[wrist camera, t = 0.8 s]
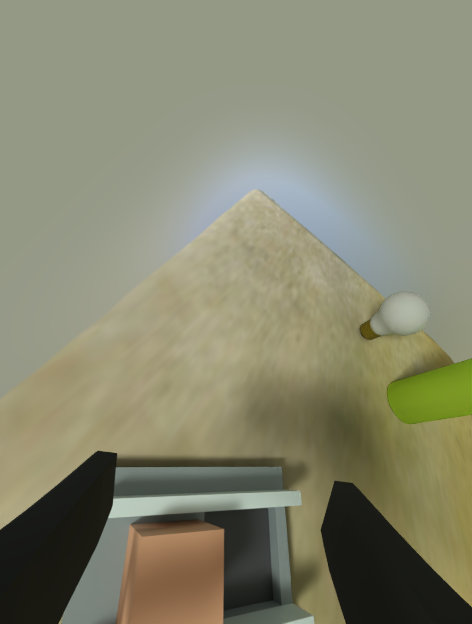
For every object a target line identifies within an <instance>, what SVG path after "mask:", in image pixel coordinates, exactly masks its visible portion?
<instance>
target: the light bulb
mask: <svg viewBox="0 0 472 624" xmlns="http://www.w3.org/2000/svg"><path fill="white" fill-rule="evenodd" d="M429 318H430V308H429V306H428V304H427V302H426V301H425V300H424V299H423V298H422V297H421V296H419V295H417V294H415V293H411V292H398V293H394V294H392V295H390V296H389V297H387V298H386V299H385V300H384V301H383V302H382V304H381V306H380V308H379V310H378V312H377V313H376V314H375V315H374V316H373V317H372V319H370V320H369V321H367V322H365V323H364V324H362V325H361V327H360V329H361V334H362V336H363V337H365V338H367V339H369V340H372V339H374V338H376V337H379V336H382V335H383V336H384V335H390V334H396V335H412V334H415V333H417V332H419V331H421V330H422V329H423V328H424V327H425V326H426V325H427V323H428V321H429Z"/></svg>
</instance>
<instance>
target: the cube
mask: <svg viewBox="0 0 472 624" xmlns="http://www.w3.org/2000/svg"><path fill="white" fill-rule="evenodd" d="M223 597H224V529H222V528H220V527H217V526H215V525H212V524H209V523H207V522H204V521H201V520H199V519H195V520H182V521H170V522H157V523H144V524H131V525H130V528H129V535H128V542H127V549H126V556H125V562H124V569H123V576H122V583H121V590H120V597H119V604H118V611H117V618H116V624H223Z"/></svg>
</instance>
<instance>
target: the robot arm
mask: <svg viewBox="0 0 472 624" xmlns="http://www.w3.org/2000/svg"><path fill="white" fill-rule="evenodd" d="M116 460H117V453H111V452H103V451H97V452H96V453H94V454H93V455H92V456H91V457H89V458H88V459H87V460H86V461H85V462H84V463H82V464H81V465H80V466H79V467H78V468H77V469H76V470H74V471H73V472H72V473H71V474H70V475H68V476H67V477H66V478H65V479H64V480H63V481H61V482H60V483H59V484H58V485H57V486H55V487H54V488H53V489H52V490H50V491H49V492H48V493H47V494H46V495H44V496H43V497H42V498H41V499H39V500H38V501H37V502H36V503H34V504H33V505H32V506H31V507H29V508H28V509H27V510H26V511H24V512H23V513H22V514H20V515H19V516H18V517H16V518H15V519H14V520H13V521H11V522H10V523H9V524H7V525H6V526H5V527H3V528H2V529H1V530H0V624H58V623H59V621H60V619H61V617H62V615H63V613H64V611H65V609H66V607H67V605H68V603H69V601H70V599H71V597H72V595H73V593H74V591H75V589H76V587H77V585H78V583H79V581H80V579H81V577H82V575H83V573H84V571H85V569H86V567H87V565H88V563H89V561H90V559H91V557H92V555H93V553H94V551H95V549H96V547H97V545H98V542H99V540H100V537H101V535H102V532H103V530H104V527H105V525H106V522H107V520H108V517H109V514H110V512H111V509H112V506H113V497H114V485H115V473H116ZM321 534H322V539H323V544H324V549H325V553H326V558H327V562H328V567H329V571H330V574H331V577H332V581H333V584H334V587H335V590H336V594H337V597H338V600H339V603H340V606H341V609H342V613H343V616H344V619H345V622H346V624H472V607H471V606H470V605H469V604H468V603H467V602H466V601H465V600H464V599H463V598H461V597H460V596H459V595H458V594H457V593H456V592H455V591H454V590H453V589H452V588H451V587H450V586H449V585H448V584H447V583H446V582H445V581H444V580H443V579H442V578H441V577H440V576H439V575H438V574H437V573H436V572H435V571H434V570H433V569H432V568H431V567H430V566H429V565H428V564H427V563H426V562H425V561H424V559H423V558H422V557H421V556H420V555H419V554H418V553H417V552H416V551H415V550H414V549H413V548H412V547H411V546H410V545H409V544H408V543H407V542H406V541H405V539H404V538H403V537H402V536H401V535H400V534H399V533H398V532H397V531H396V530H395V529H394V528H393V527H392V525H391V524H390V523H389V522H388V521H387V520H386V519H385V518H384V517H383V516H382V514H381V513H380V512H379V511H378V510H377V509H376V508H375V507H374V506H373V505H372V503H371V502H370V501H369V500H368V499H367V498H366V497H365V496H364V495H363V494H362V493H361V491H360V490H359V489H358V488H357V487H356V486H355V485H354V484H353V483H348V482H340V481H334V485H333V489H332V492H331V496H330V499H329V503H328V506H327V510H326V513H325V517H324V520H323V524H322V527H321Z"/></svg>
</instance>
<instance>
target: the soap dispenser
mask: <svg viewBox="0 0 472 624" xmlns="http://www.w3.org/2000/svg"><path fill="white" fill-rule="evenodd" d="M387 397H388V401H389V404H390V406H391V409H392V410H393V412H394V413H395V415H396V416H397V417H398V418H399V419H400V420H401V421H403V422H404V423H406V424H415V423H422V422H428V421H434V420H441V419H447V418H454V417H460V416H467V415H472V359H468V360H465V361H462V362H459V363H455V364H452V365H448V366H445V367H442V368H438V369H435V370H432V371H428V372H425V373H422V374H418V375H415V376H412V377H408V378H405V379H402V380H398V381H395V382H392V383H390V384H389V386H388V389H387Z"/></svg>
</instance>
